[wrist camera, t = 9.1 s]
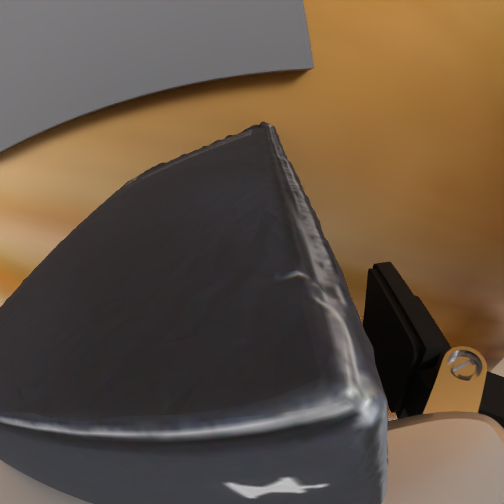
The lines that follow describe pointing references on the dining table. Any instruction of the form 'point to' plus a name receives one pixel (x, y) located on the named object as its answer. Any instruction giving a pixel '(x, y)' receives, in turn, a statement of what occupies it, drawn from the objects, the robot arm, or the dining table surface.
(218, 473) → the small box
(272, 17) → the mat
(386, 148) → the dining table surface
